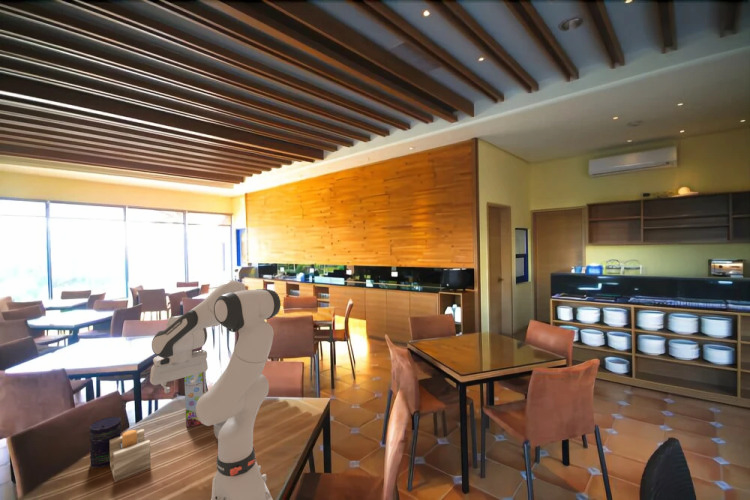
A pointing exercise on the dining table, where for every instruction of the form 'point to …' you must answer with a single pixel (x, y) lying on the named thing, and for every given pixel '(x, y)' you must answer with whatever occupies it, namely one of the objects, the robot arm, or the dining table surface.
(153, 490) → the dining table surface
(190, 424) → the snack box
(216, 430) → the teacup
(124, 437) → the brown egg
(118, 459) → the wooden napkin holder
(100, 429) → the storage jar
